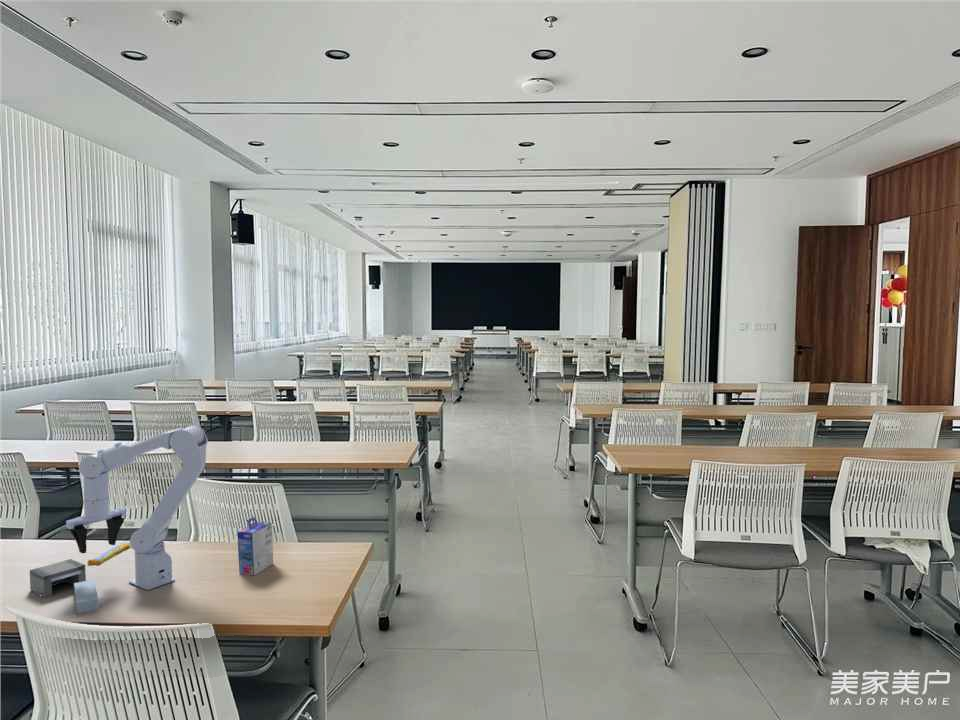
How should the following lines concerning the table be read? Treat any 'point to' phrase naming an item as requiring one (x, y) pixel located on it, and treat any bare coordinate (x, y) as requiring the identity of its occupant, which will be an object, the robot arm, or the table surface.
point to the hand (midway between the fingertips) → (97, 548)
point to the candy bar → (109, 553)
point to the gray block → (56, 576)
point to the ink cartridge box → (255, 547)
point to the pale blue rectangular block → (86, 596)
